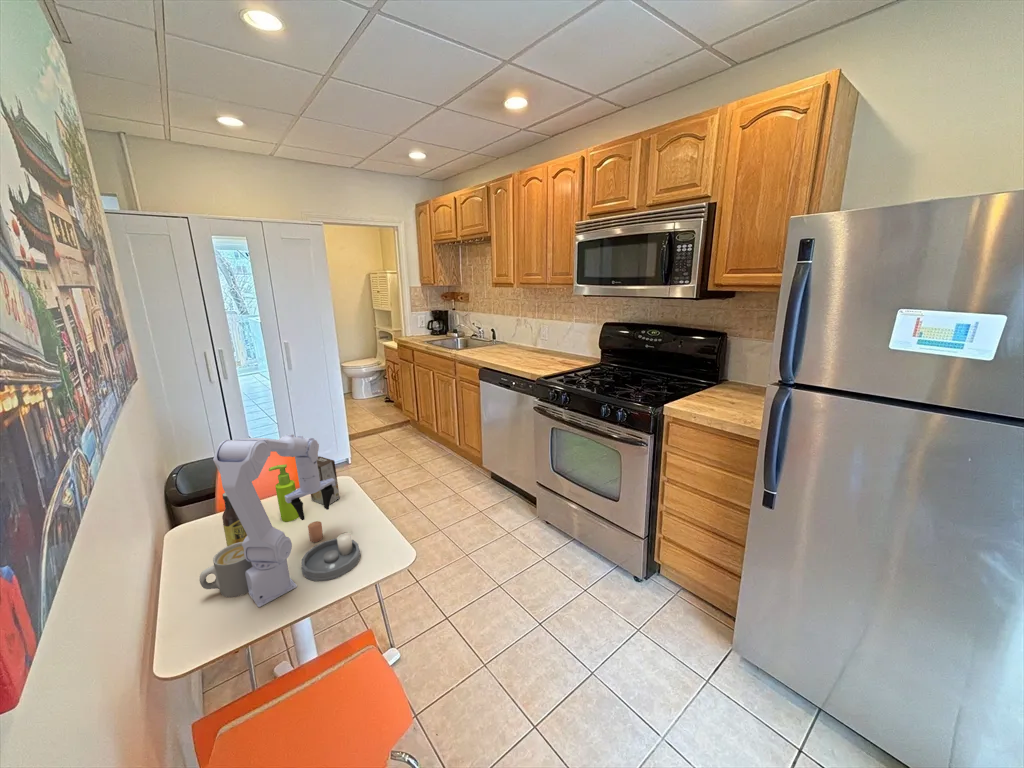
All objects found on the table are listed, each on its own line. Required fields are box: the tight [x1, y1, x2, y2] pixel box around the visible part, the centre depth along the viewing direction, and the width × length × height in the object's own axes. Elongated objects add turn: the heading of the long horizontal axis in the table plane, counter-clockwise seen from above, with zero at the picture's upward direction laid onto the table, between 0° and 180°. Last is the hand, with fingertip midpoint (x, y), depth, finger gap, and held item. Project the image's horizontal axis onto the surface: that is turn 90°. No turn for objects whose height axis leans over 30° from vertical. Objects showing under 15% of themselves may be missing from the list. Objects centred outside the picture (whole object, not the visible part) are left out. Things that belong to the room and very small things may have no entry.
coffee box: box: [310, 455, 341, 506], centre depth 152 cm, size 9×6×16 cm
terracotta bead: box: [307, 520, 324, 543], centre depth 130 cm, size 4×4×5 cm
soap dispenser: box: [268, 463, 300, 523], centre depth 140 cm, size 6×7×20 cm
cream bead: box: [336, 532, 353, 556], centre depth 122 cm, size 4×4×5 cm
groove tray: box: [301, 537, 362, 582], centre depth 119 cm, size 16×16×2 cm
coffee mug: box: [199, 542, 252, 598], centre depth 109 cm, size 13×10×10 cm
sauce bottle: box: [222, 492, 247, 547], centre depth 123 cm, size 7×6×20 cm
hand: (314, 513), depth 128 cm, fingers open, 7 cm apart
